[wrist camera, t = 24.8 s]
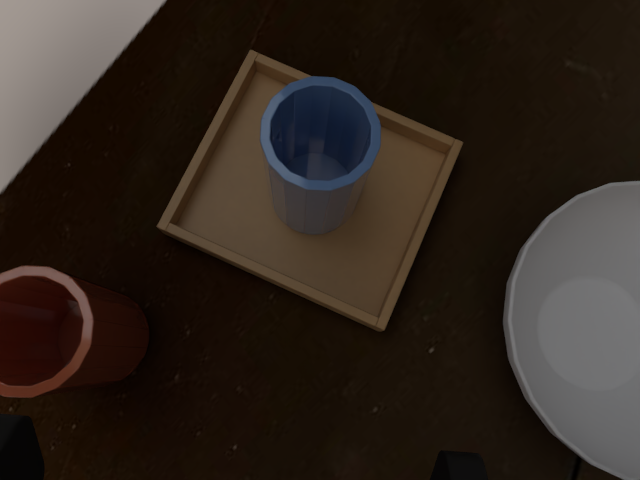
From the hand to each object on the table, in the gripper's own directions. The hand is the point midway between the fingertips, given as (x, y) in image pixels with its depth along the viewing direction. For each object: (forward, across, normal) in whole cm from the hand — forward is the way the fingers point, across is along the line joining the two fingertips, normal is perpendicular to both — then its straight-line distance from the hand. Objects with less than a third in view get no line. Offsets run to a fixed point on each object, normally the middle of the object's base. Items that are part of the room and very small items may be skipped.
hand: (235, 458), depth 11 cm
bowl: (+21, -20, +13) cm, 32 cm away
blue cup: (+26, -1, +8) cm, 27 cm away
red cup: (+18, +11, +15) cm, 26 cm away
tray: (+26, -1, +8) cm, 27 cm away
